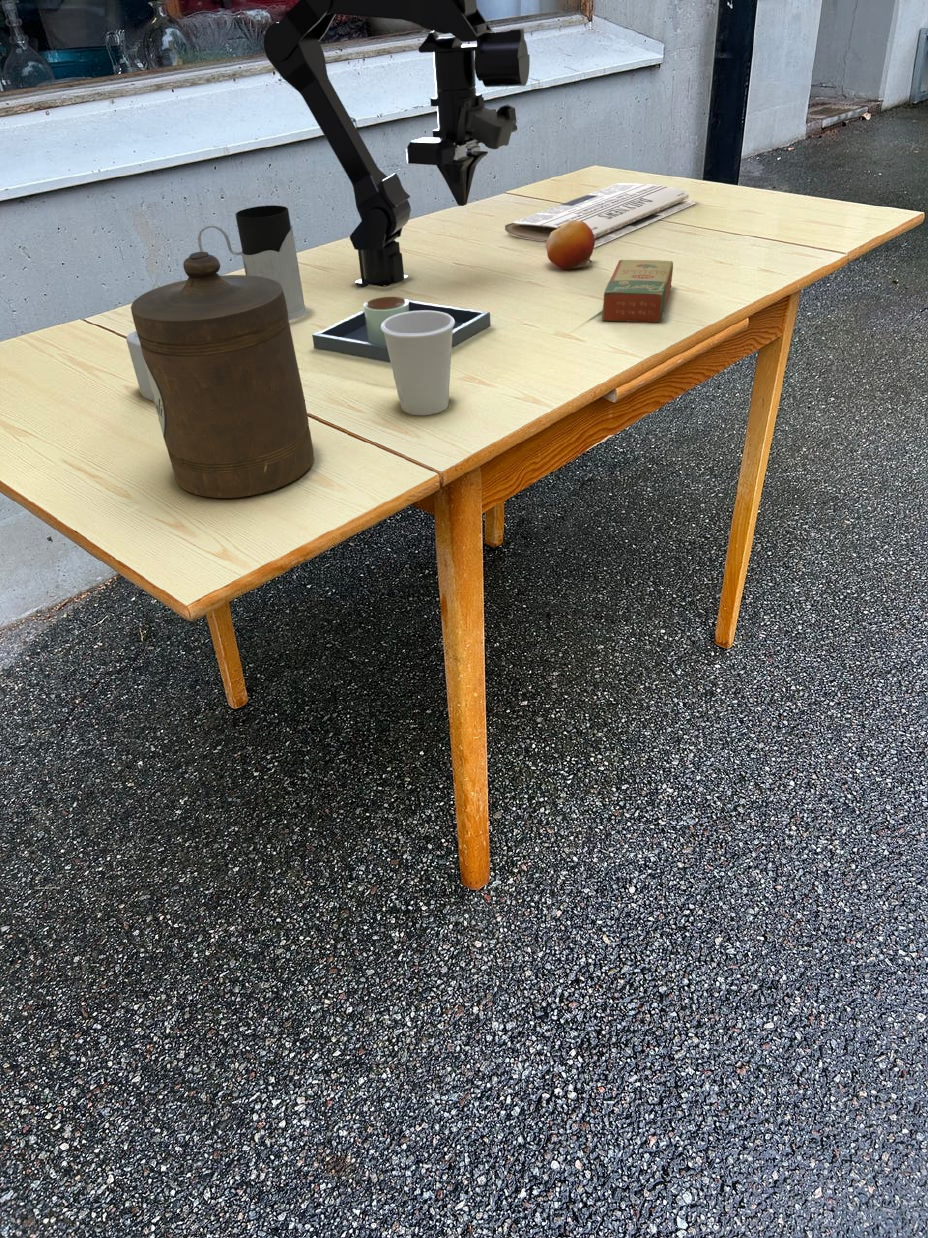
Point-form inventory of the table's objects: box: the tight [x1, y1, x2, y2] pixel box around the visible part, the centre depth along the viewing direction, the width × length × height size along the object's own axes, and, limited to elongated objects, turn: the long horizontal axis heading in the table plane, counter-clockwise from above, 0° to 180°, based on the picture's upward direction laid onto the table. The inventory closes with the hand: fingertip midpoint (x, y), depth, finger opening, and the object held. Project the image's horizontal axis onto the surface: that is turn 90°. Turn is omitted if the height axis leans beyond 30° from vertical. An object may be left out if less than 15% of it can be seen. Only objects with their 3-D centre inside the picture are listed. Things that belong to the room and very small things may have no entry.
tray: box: [311, 299, 492, 364], centre depth 128 cm, size 18×18×2 cm
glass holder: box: [197, 204, 309, 322], centre depth 136 cm, size 9×14×15 cm, turn 94°
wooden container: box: [130, 251, 315, 499], centre depth 93 cm, size 15×15×22 cm
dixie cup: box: [381, 310, 455, 416], centre depth 107 cm, size 8×8×10 cm
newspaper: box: [504, 182, 697, 249], centre depth 177 cm, size 37×19×3 cm, turn 140°
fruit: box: [545, 221, 595, 271], centre depth 152 cm, size 8×8×8 cm
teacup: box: [363, 296, 410, 346], centre depth 125 cm, size 7×6×6 cm
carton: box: [601, 259, 674, 323], centre depth 135 cm, size 8×16×4 cm, turn 165°
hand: (462, 205), depth 141 cm, fingers closed
